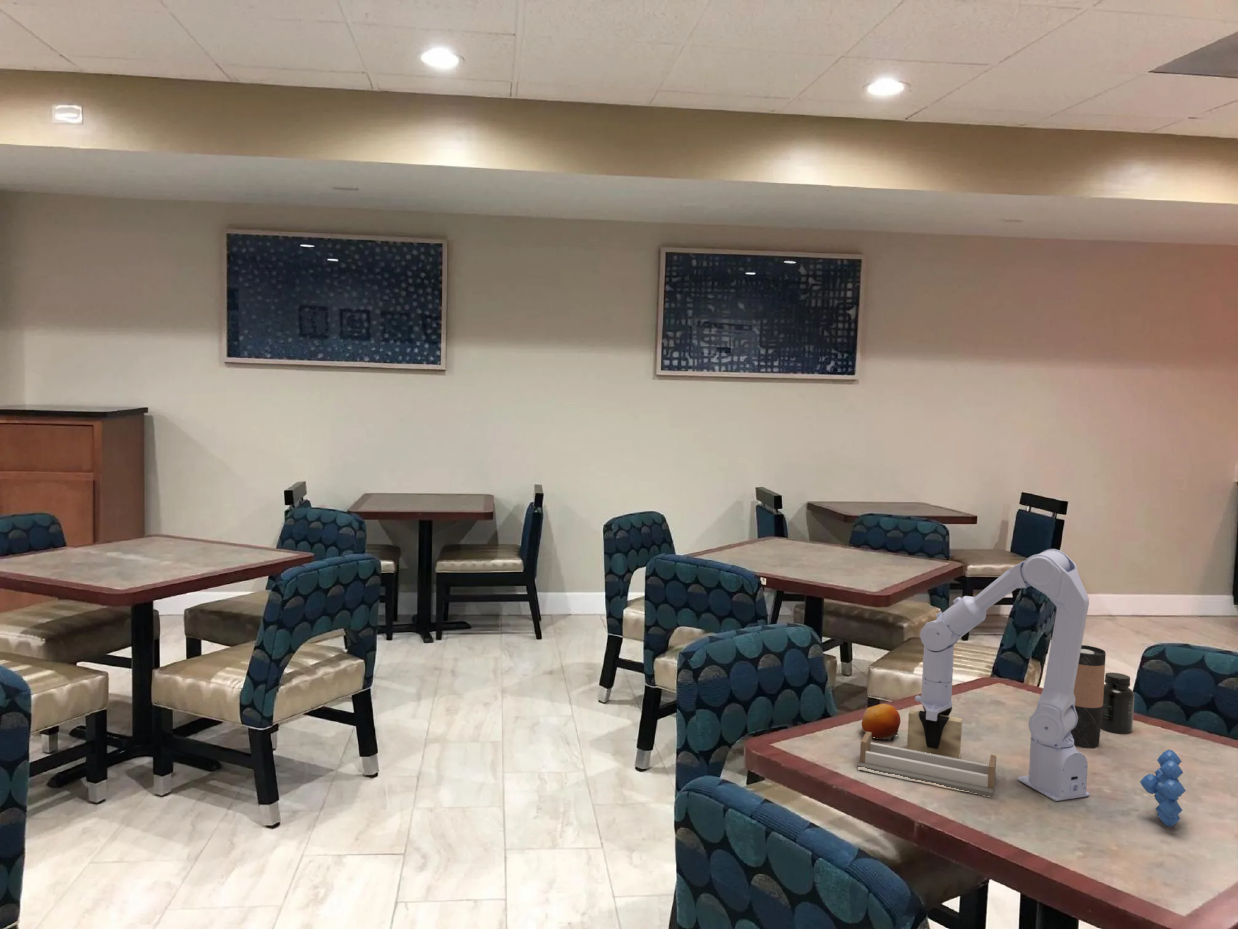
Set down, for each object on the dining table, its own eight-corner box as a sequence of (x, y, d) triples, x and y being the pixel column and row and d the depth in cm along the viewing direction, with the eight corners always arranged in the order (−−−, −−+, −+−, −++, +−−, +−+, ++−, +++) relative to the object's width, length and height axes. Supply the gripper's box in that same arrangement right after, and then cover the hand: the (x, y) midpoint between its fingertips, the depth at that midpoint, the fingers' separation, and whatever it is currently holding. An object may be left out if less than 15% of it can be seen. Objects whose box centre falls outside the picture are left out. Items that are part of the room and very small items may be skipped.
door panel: (960, 757, 176) (962, 718, 175) (959, 761, 174) (961, 722, 173) (908, 747, 180) (910, 709, 180) (906, 751, 178) (908, 713, 178)
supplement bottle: (1119, 723, 197) (1123, 671, 196) (1138, 734, 191) (1142, 680, 190) (1090, 722, 197) (1093, 670, 196) (1108, 734, 190) (1111, 680, 189)
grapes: (1135, 801, 158) (1139, 736, 157) (1179, 810, 154) (1184, 744, 154) (1139, 828, 147) (1144, 759, 146) (1187, 838, 144) (1192, 768, 143)
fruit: (901, 741, 179) (883, 704, 181) (868, 752, 184) (851, 716, 186) (914, 730, 186) (896, 695, 188) (882, 741, 190) (865, 706, 192)
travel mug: (1107, 749, 182) (1113, 655, 180) (1070, 748, 182) (1076, 654, 180) (1088, 735, 189) (1094, 644, 188) (1053, 734, 189) (1058, 643, 188)
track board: (995, 777, 166) (997, 752, 166) (992, 798, 157) (993, 771, 157) (867, 752, 177) (868, 728, 177) (857, 770, 168) (858, 745, 168)
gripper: (921, 666, 184) (918, 728, 185) (911, 685, 171) (908, 752, 172) (957, 671, 181) (953, 735, 182) (949, 691, 168) (945, 760, 169)
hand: (933, 744), depth 177 cm, fingers open, 4 cm apart
